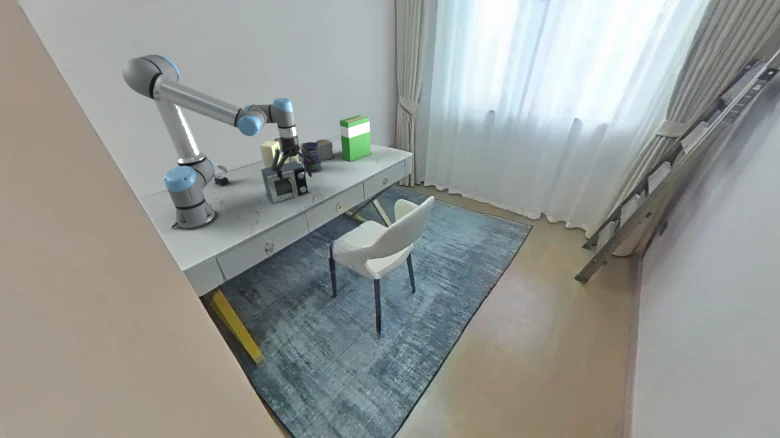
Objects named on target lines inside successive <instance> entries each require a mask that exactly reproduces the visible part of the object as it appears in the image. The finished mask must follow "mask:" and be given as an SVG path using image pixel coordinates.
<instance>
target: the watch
mask: <svg viewBox="0 0 780 438" xmlns="http://www.w3.org/2000/svg"><path fill="white" fill-rule="evenodd" d="M213 164H214V163H213ZM214 166H215V168H216V167H217V168H218V169H219V170H221V171H222V175H219V176H217V175H216V173H215V174H214V176H213V179H214V182H215V184H216V185H218V186H220V187H224V186H225V185H228V184H230V182H229V178H228V177H227V173H228V171H227V167H225V166H224V165H222V164H221V163H215V164H214Z"/></svg>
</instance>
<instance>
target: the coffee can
mask: <svg viewBox="0 0 780 438" xmlns="http://www.w3.org/2000/svg"><path fill="white" fill-rule="evenodd" d="M299 152H300V153H301V149H300V150H299ZM294 161H297V162H298V163H299V164H300V165H301V164H302V163H303V161H302V157H301V156H300V155H298V154H297V155H296V156H292V157H288V158H287V159H286V161H285V163H284V164H286V163H290V162H294Z"/></svg>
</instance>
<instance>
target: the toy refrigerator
mask: <svg viewBox="0 0 780 438" xmlns="http://www.w3.org/2000/svg"><path fill="white" fill-rule="evenodd" d="M259 149H260V154H261V158H262V162H263V166H264V169H265V168H269V167H272V164H273V160H274V156H275V149H281V147H280V142H279V141H275V140H266V141H264V142H263V143H261V144H260V145H259ZM281 158H282V153H281V154H280V156H279V160H278V163H279V161H280V160H281ZM277 165H278V164H277Z"/></svg>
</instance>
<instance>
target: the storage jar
mask: <svg viewBox="0 0 780 438" xmlns="http://www.w3.org/2000/svg"><path fill="white" fill-rule="evenodd" d="M315 142H316V141H315ZM315 142H313V141H309V142H303V143H304V144H306V147H307V149H308V151H309V152H310V153H311V155H312V156H313V157H314V159H315V161H313V163H312V170H311V174H312V173H318V172H320V171H321V170H322V166H321V159H319V148H318V144H317V143H315ZM300 152H301V154H303V155H304V156H305V157H306V158H308V159H309V160H310V157H309V156H308V155H307V153H306V152H305V151H304V149H302V148H300ZM302 159H303V161H302V163H303V168H304V170H305V173H308V171H307V164H306V163H307V161H306V160H305V159H304V158H302Z"/></svg>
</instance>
